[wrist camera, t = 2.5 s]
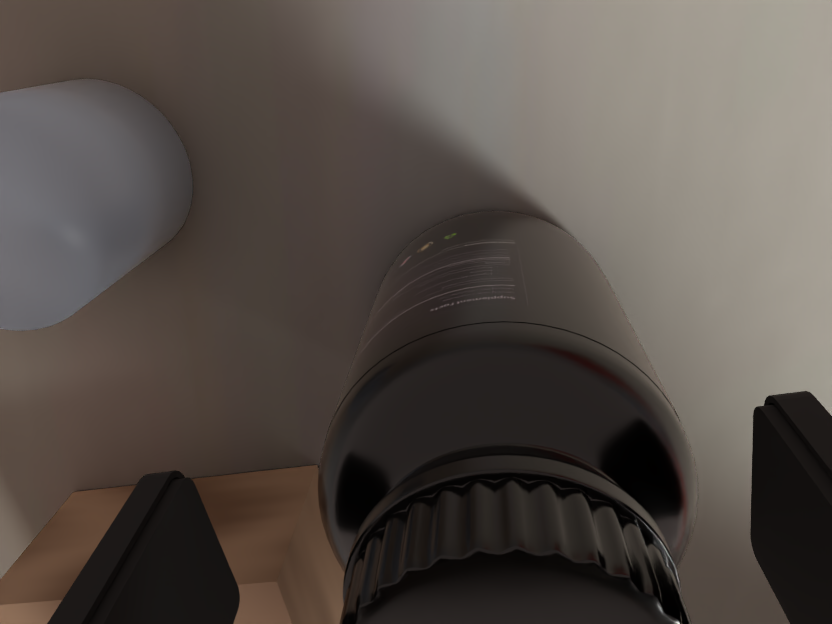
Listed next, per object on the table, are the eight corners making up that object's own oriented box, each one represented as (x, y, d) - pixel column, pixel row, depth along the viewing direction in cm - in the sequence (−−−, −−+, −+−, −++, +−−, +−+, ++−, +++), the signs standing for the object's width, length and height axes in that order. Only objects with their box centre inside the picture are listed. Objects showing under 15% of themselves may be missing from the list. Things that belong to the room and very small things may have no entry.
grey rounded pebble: (157, 61, 17) (45, 79, 13) (216, 242, 19) (137, 313, 15) (-13, 97, 18) (-175, 127, 14) (61, 268, 20) (-60, 344, 16)
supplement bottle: (652, 352, 20) (876, 780, 9) (454, 448, 22) (434, 896, 11) (537, 152, 18) (641, 386, 7) (330, 278, 19) (146, 620, 9)
